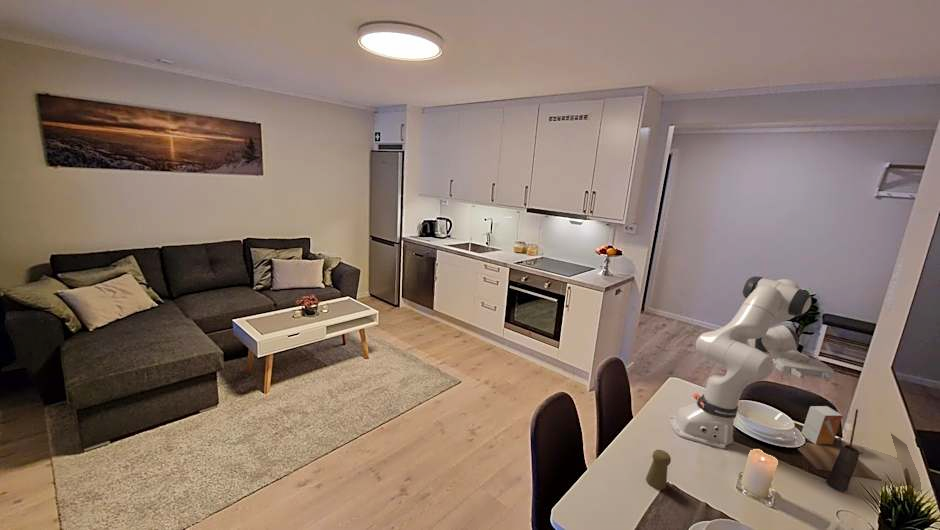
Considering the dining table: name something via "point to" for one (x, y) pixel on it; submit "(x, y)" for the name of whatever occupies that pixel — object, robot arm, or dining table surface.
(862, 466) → the walnut mat
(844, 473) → the butter churn
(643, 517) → the dining table surface
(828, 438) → the small box
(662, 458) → the olive pepper mill
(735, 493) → the dining table surface
